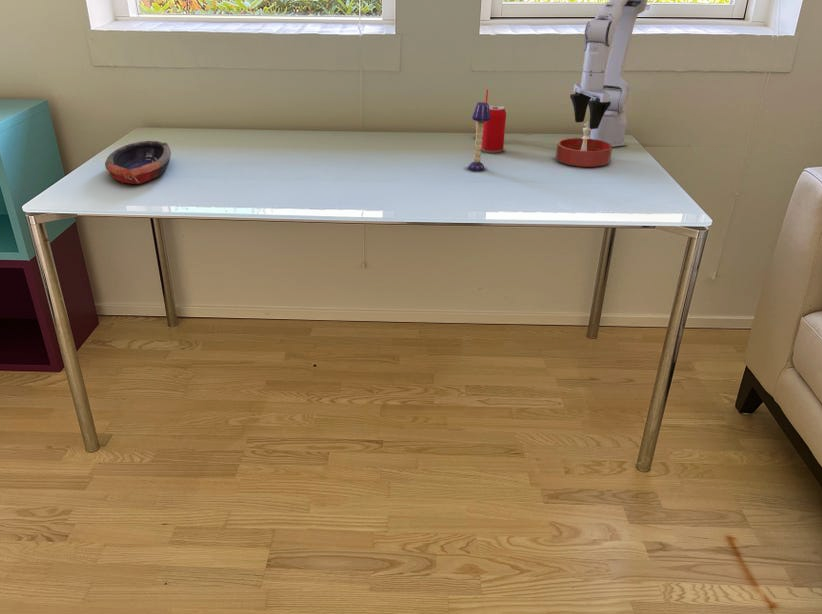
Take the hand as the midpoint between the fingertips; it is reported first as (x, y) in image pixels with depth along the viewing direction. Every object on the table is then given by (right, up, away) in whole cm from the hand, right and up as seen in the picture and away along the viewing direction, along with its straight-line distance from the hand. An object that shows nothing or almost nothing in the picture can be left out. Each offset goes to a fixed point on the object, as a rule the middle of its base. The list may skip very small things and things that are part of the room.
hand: (586, 125), depth 193 cm
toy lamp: (-29, -12, -2) cm, 32 cm away
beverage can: (-23, -3, +13) cm, 27 cm away
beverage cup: (-24, +4, +25) cm, 35 cm away
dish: (-117, -14, -5) cm, 118 cm away
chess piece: (0, -8, +4) cm, 9 cm away
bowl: (0, -8, +4) cm, 9 cm away
